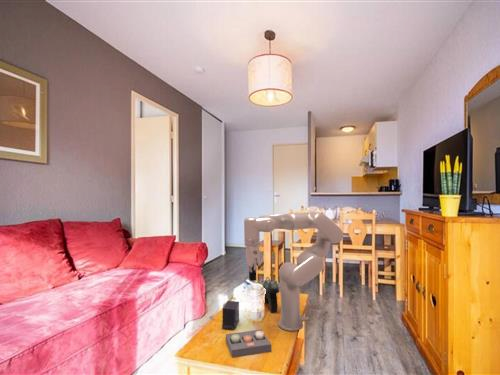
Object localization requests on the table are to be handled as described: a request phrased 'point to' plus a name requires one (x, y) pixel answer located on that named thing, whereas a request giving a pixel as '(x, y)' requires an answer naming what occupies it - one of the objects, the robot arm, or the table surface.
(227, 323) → the small box
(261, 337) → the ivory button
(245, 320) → the table surface
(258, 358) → the table surface
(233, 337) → the sage button
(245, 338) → the terracotta button
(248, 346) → the button box
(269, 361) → the table surface
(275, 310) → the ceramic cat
